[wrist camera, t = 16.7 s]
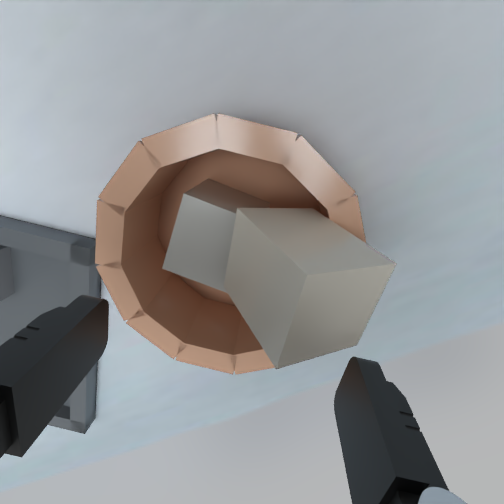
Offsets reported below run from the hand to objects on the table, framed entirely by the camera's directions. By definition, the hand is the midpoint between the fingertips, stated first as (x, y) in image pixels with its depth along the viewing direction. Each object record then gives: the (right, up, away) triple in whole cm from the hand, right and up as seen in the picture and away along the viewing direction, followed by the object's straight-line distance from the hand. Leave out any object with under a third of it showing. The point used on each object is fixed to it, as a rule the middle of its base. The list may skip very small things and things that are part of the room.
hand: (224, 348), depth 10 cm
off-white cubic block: (+2, +3, +3) cm, 5 cm away
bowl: (0, +4, +8) cm, 9 cm away
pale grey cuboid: (0, +5, +7) cm, 9 cm away
